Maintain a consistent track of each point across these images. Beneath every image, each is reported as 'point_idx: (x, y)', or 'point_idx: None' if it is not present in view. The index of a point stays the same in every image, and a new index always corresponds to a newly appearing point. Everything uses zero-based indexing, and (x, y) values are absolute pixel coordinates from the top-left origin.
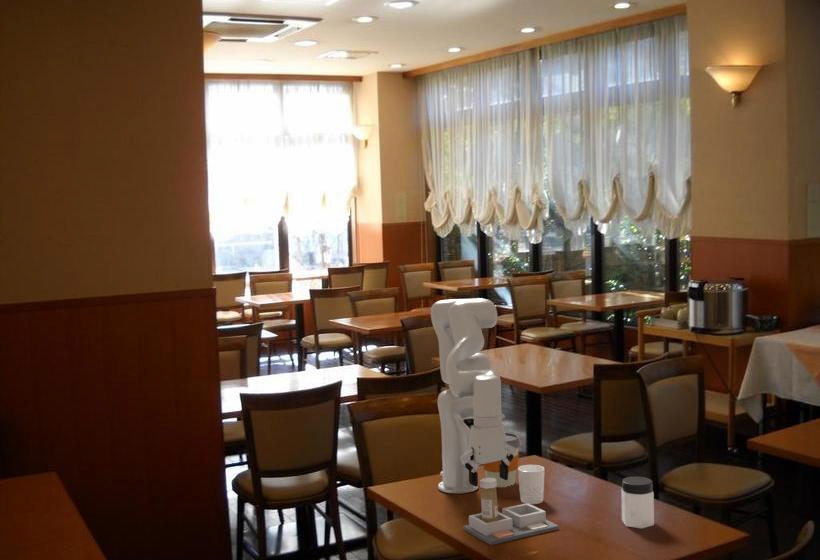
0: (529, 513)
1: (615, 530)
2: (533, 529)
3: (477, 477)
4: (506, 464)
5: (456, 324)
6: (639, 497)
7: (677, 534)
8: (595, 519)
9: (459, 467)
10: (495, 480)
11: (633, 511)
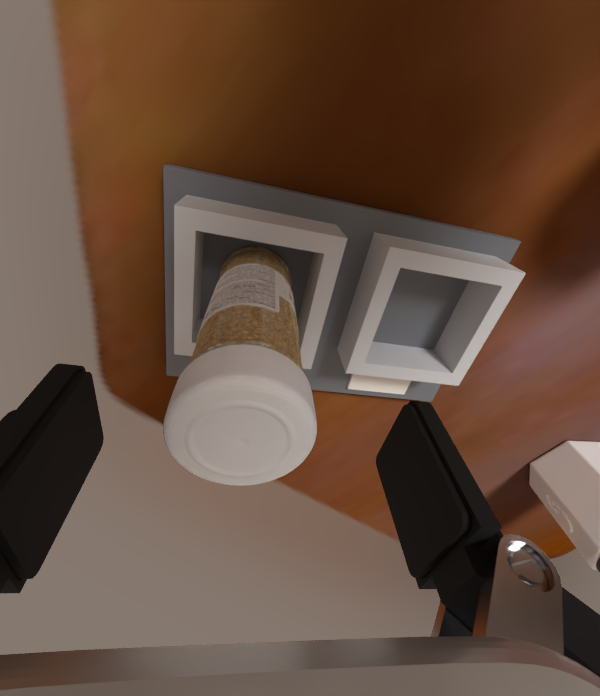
0: (472, 289)
1: (492, 464)
2: (349, 388)
3: (62, 518)
4: (440, 605)
5: None
6: (587, 560)
7: (523, 521)
8: (554, 400)
9: None
10: (275, 478)
11: (557, 510)
